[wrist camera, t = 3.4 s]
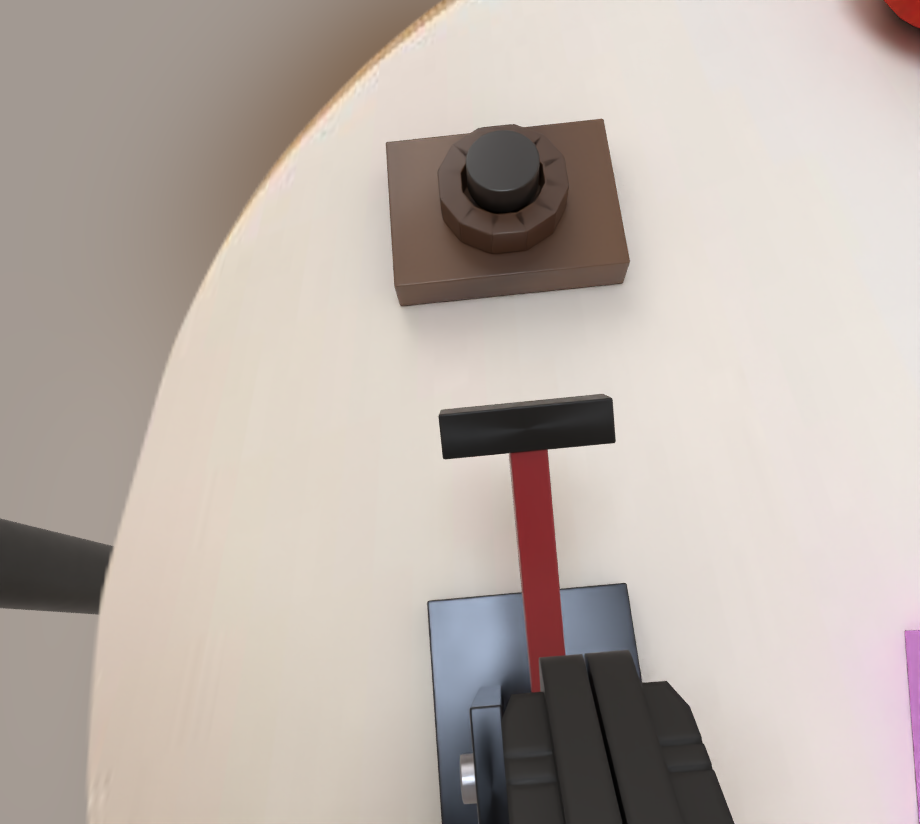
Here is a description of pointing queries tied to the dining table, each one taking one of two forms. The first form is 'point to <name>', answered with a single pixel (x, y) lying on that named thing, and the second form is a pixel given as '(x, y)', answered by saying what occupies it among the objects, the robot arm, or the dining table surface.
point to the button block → (504, 219)
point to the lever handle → (532, 490)
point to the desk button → (502, 170)
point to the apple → (906, 10)
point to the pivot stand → (500, 683)
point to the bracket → (914, 697)
